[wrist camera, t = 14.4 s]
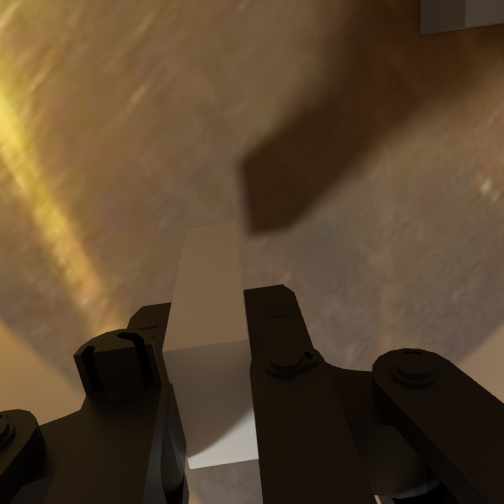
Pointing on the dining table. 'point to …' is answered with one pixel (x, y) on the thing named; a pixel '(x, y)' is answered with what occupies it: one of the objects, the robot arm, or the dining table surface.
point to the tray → (459, 14)
